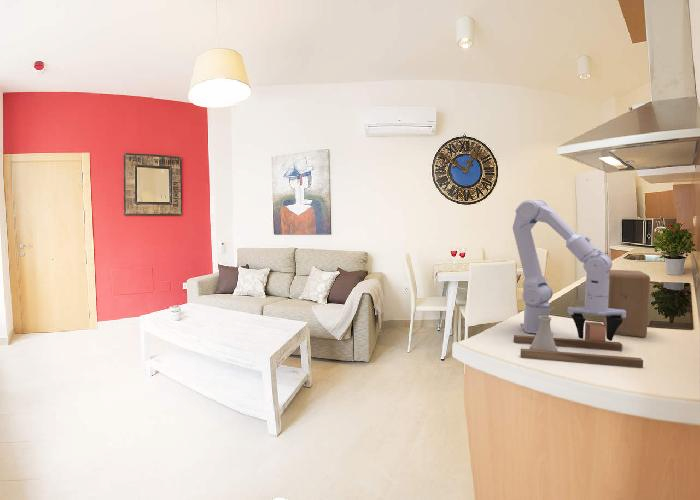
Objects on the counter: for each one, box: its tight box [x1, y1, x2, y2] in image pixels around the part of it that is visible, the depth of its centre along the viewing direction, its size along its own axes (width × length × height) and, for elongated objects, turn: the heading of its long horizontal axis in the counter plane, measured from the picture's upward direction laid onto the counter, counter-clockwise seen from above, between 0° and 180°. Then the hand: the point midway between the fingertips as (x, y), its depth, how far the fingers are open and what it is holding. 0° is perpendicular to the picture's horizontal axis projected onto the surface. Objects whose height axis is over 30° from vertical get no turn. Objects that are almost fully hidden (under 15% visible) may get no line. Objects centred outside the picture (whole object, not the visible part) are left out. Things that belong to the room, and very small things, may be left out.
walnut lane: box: [513, 334, 644, 369], centre depth 97 cm, size 13×28×2 cm, turn 73°
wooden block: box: [602, 269, 651, 338], centre depth 113 cm, size 10×10×20 cm
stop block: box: [584, 321, 607, 341], centre depth 104 cm, size 4×4×6 cm
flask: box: [529, 316, 558, 351], centre depth 99 cm, size 7×7×10 cm
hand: (594, 338), depth 104 cm, fingers open, 7 cm apart
